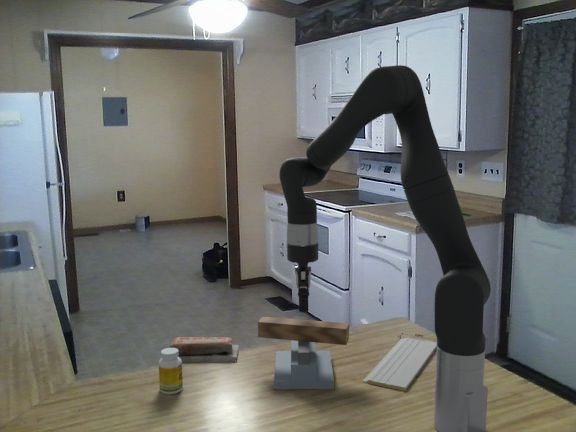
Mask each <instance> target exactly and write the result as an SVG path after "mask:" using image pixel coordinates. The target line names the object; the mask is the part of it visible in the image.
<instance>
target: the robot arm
mask: <svg viewBox="0 0 576 432" xmlns="http://www.w3.org/2000/svg"><path fill="white" fill-rule="evenodd" d="M383 115H392V116H393V118H394V121H395V124H396V126H397V129H398V131H399V136H400V140H401V159H400V180H401V181H400V182H401V185H402V189H403V191H404V194H405V197H406V199H407V200H406V201H407V203H408V206H409V208H410V211H411V212H412V215H413V216H414V218H415V220H416V221H417V223H418V224H419V226H420V227H421V229H422V230H423V232H424V233H425V235H427V237H428V238H429V240H430V241H431V243H432V245H433V247H434V250H435V251H436V254H437V257H438V261H439V264H440V268H441V271H442V275H443V276H442V277H441V278H440V279H439V280H438V283H437V284H436V287H435V291H434V292H435V293H434V315H433V316H434V334H435V336H436V342H437V348H436V356H435V357H436V361H435V363H436V364H435V385H434V387H435V390H434V414H433V415H434V418H433V419H434V421H433V422H434V423H433V425H434V429H436V431H437V432H486V431H487V409H488V393H489V390H488V387H487V386H485V385H484V384H485V383H484V380H485V379H484V377H485V361H486V359H485V356H486V355H485V354H486V336H485V334H484V307H485V304H486V303H487V302H488V300H489V299H490V296H491V291H492V289H491V288H492V287H491V282H490V279H489V277H488V274H487V272H486V270H485V268H484V266H483V264H482V262H481V259H480V258H479V255H478V253H477V252H476V250H475V247H474V245H473V242H472V241H471V238H470V235H469V232H468V229H467V226H466V225H467V224H466V222H465V219H464V216H463V213H462V209H461V207H460V203H459V201H458V198H457V194H456V191H455V188H454V184H453V182H452V178H451V176H450V174H449V171H448V168H447V166H446V164H445V161H444V158H443V155H442V153H441V150H440V149H441V148H440V146H439V143H438V141H437V137H436V135H435V131H434V129H433V125H432V121H431V118H430V115H429V111H428V107H427V102H426V98H425V93H424V89H423V87H422V83H421V80H420V78H419V76H418V75H417V73H416V72H415V71H414V69H412V68H411V67H409V66H407V65H401V64H400V65H399V64H398V65H388V66H380V67H376V68H374V69H372V70H371V71H370V72H368V73H367V74H366V76H365V77H363V79H362V81H361V82H360V84H359V85H358V87H356V89H355V91H354V92H353V94H352V95H351V97H350V98H349V99H348V100H347V102H346V103H345V104H344V106H343V107H342V109H341V110H340V111H339V112H338V114H337V115H336V116H335V117H334V119H332V120H331V122H330V123H329V124H328V125H327V126H326V127H325V128H324V129H323V130H322V131H321V132H320V133H319V134H317V135H316V136H315V138H314V139H313V140H312V141H311V142H310V143H309V144H308V146H307V147H306V151H305V153H306V156H301V157H289V158H287V159H285V160H284V161H283V162H282V164H281V165H280V168H279V174H278V175H279V181H280V185H281V188H282V192H283V196H284V199H285V203H286V206H287V210H286V211H287V212H286V213H287V216H286V217H287V226H286V253H287V254H286V255H287V256H286V257H287V260H288V261H289V262H291V263H296V264H297V266H294V277H295V287H296V289H297V291H298V292H297V296H298V311H299V313H308V312H309V296H310V292H309V291H310V288H311V285H312V284H311V283H312V282H311V277H312V266H308V265H309V264H310V263H316V262H317V261H318V260H319V227H318V215H317V214H318V206H317V201H316V200H315V198H313V197H311V196H306V194H305V192H304V189H303V188H305V187H306V188H307V187H314V186H316V185H318V184H319V183H321V182H322V181H323V180H324V179H325V177H326V176H327V174H328V173H329V171H330V170H331V167H332V166H333V165H334V164H335V163H336V162H337V161H339V159H341V158H342V157H343V156H344V155H345V154H346V153H347V152H348V151H349V150H350V149H351V148H352V146H353V145H354V143H355V140H356V138H357V136H358V135H359V133H360V132H361V130H363V129H364V128H365V127H366V126H367V125H369V124H370V123H372V122H373V121H375V120H376V119H378V118H379V117H381V116H383Z"/></svg>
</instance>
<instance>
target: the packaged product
mask: <svg viewBox="0 0 576 432" xmlns="http://www.w3.org/2000/svg"><path fill="white" fill-rule="evenodd" d="M239 347H240V344H239V343H238V344H237V343H235V344H233V338H232V337H230V336H229V337H228V336H226V337H224V336H220V337H219V336H218V337H217V336H213V337H210V336H205V337H204V336H203V337H202V336H191V337H190V336H189V337H188V336H187V337H186V336H185V337H184V336H181V337H179V336H178V337H174V338H173V340H172V341H171V342H170V345H169V348H176V349H178V351H179V355H178V357H179V358H180V359H181V360H182V363H222V362H226V363H227V362H237V359H238V355H239V354H238V353H239V351H240V349H239Z"/></svg>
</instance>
